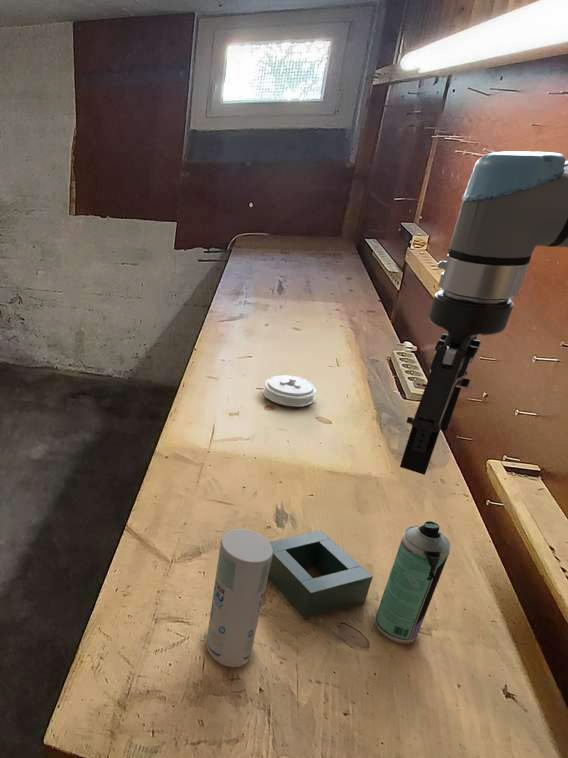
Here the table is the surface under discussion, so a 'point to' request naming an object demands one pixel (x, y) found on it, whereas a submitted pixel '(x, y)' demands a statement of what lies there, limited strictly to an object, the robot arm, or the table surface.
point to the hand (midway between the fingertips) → (424, 447)
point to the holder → (338, 570)
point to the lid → (289, 390)
